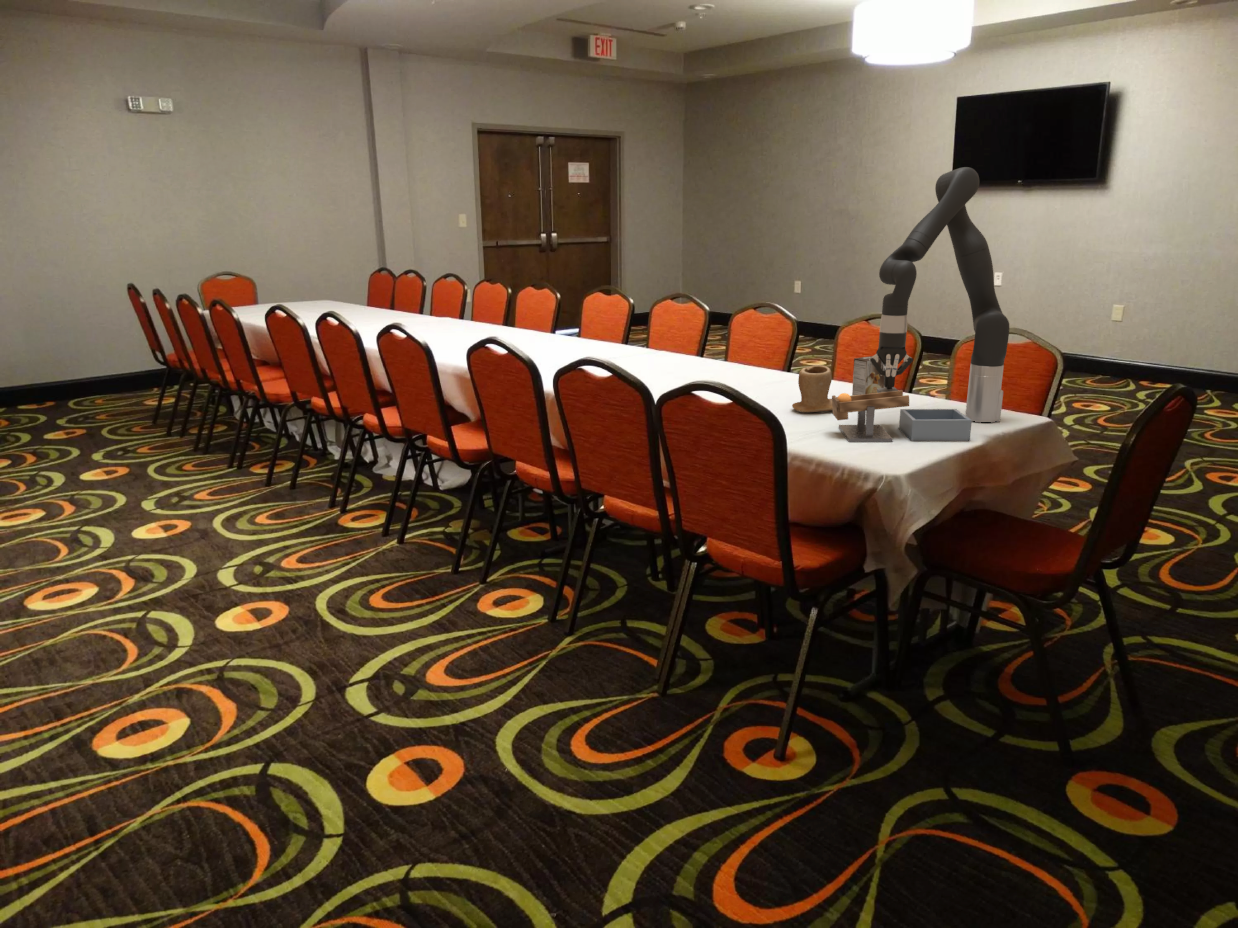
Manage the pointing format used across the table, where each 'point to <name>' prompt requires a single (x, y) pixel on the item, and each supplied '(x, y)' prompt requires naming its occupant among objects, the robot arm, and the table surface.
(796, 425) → the table surface
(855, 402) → the chute
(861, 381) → the coffee box
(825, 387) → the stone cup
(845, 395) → the ball
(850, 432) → the stand
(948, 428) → the bin
